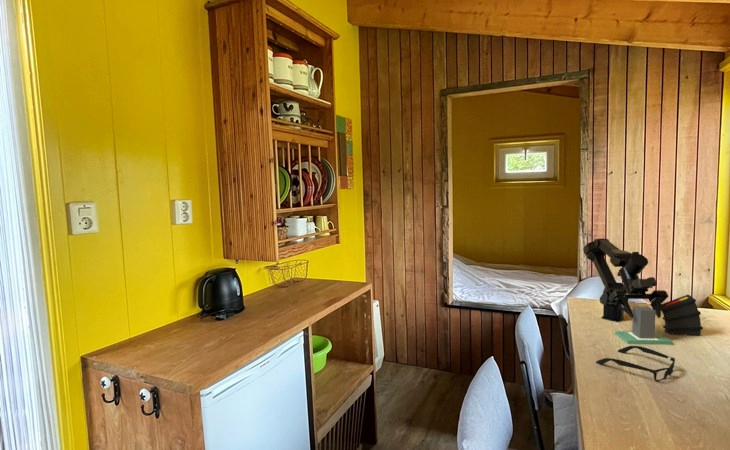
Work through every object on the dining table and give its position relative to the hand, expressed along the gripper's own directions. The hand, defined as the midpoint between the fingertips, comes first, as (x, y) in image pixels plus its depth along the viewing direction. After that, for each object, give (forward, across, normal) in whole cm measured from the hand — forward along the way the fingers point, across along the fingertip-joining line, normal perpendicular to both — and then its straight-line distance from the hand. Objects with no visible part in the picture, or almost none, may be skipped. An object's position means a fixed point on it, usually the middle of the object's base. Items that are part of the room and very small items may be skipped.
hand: (646, 317), depth 146 cm
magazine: (+1, +16, +12) cm, 20 cm away
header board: (+5, 0, +7) cm, 9 cm away
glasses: (+22, -14, -9) cm, 28 cm away
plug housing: (+4, 0, +6) cm, 8 cm away
